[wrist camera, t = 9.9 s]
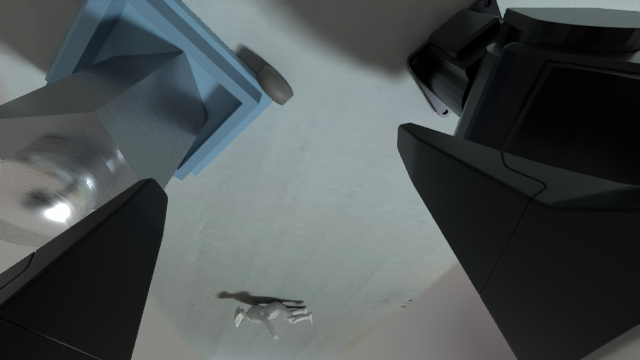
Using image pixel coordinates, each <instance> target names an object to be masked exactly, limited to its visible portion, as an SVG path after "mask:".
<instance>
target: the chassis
mask: <svg viewBox="0 0 640 360" xmlns="http://www.w3.org/2000/svg"><path fill="white" fill-rule="evenodd" d="M181 51H184V52H185V53H186V55H187V58H188V61H189V64H190V66H191V69H192V72H193V75H194V78H195V81H196V83H197V86H198V89H199V92H200V95H201V97H202V100H203V103H204V106H205V109H206V112H207V114H208V117H209V119H208V121H207V122H206V124H205V125H204V127H203V128H202V130H201V132H200V133H199V135H198V136H197V138H196V139H195V141H194V143H193V144H192V146H191V147H190V149H189V150H188V152H187V154H186V155H185V157H184V158H183V160H182V162H181V163H180V165H179V166H178V168H177V169H176V171H175V173H174V174H173V175H174V176H175V177H177V178H179V179H180V180H183V179H184V178H185V177H186V176H187V175H188V174H189V173H190V172H192V173H193V174H195V175H197V174H198V173H199V172H200V171H201V170H202V169H203V168H204V167H205V166H206V165H208V164H209V163H210V162H211V161H212V160H213V159H214V158H215V157H216V156H217V155H218V154H219V153H220V152H221V151H222V150H223V149H224V148H225V147H226V146H227V145H228V144H229V143H230V142H231V141H232V140H233V139H234V138H236V137H237V136H238V135H239V134H240V133H241V132H242V131H243V130H244V129H245V128H246V127H247V126H248V125H249V124H250V123H251V122H252V121H253V120H254V119H255V118H256V117H257V116H258V115H259V114H260V113H261V112H262V111H263V110H265V109H266V108H267V107H268V106H269V105H270V104H271V103H272V102H273V101H275V102H276V103H278V104H280V105H283V104H285V103H286V102H287V101H288V100H289V99H290V98H291V97H292V96H293V91H292V89H291V87H290V85H289V84H288V83H287V81H286V80H285V79H284V78H283V76H282V75H281V74H280V73H279V72H278V71H276V70H275V69H274V68H273V67H271V66H269V65H266V66H265V67H264V68H263V69H262V70H261V71H260V72H259V73H258V74H257V75H256V74H255V73H254V72H253V71H252V70H251V69H250V68H249V67H248V66H247V65H246V64H245V63H244V62H243V61H242V60H241V59H240V58H239V57H238V56H237V55H236V54H235V53H234V52H233V51H232V50H231V49H230V48H229V47H228V46H227V45H226V44H225V43H224V42H223V41H222V40H221V39H219V38H218V37H217V36H216V35H215V34H214V33H213V32H212V31H211V30H210V29H209V28H208V27H207V26H206V25H205V24H204V23H203V22H202V21H201V20H200V19H199V18H198V17H197V16H196V15H195V14H194V13H193V12H192V11H191V10H190V9H189V8H188V7H187V6H186V5H185V4H184V3H183V2H182V1H181V0H84V2H83V4H82V6H81V8H80V10H79V12H78V14H77V16H76V18H75V20H74V22H73V24H72V26H71V28H70V30H69V32H68V34H67V36H66V38H65V40H64V42H63V44H62V46H61V48H60V50H59V52H58V54H57V56H56V58H55V60H54V62H53V64H52V66H51V68H50V70H49V72H48V74H47V76H46V78H45V80H46V81H48V82H47V84H46V85H48V84H51V83H53V82H55V81H58V80H60V79H62V78H64V77H67V76H69V75H71V74H74V73H76V72H78V71H80V70H83V69H85V68H87V67H90V66H92V65H94V64H96V63H99V62H101V61H103V60H106V59H108V58H110V57H113V56H127V55H140V54H154V53H168V52H181Z"/></svg>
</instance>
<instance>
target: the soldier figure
mask: <svg viewBox="0 0 640 360" xmlns="http://www.w3.org/2000/svg"><path fill="white" fill-rule="evenodd" d="M306 311H307V307H303V308H300V309H291V310H288V309H287V308H286V307H285V306H284V305H283V304H282V303H279V302H276V301H275V302H272V303H270V304H268V305H266V306H260V305H256V306H252V307H250V309H249V310H248V312H245V315H246V317H247V319H248V320H249V321H250V322H251V321H252V322H254V323H258V322H261V323H263V324H264V325H265V326H266V327H267V328H268V330H269V331H271V334H272V336H273V337H274V338H275V339H278V337H279V336H277V335H276V333H275V332H274V331H273V329H274V328H273V327H272V325H271V323H270V321H269V320H270V319H272V318H275V317H277V314H279V315H280V316H281V317H282V318H283V319H285V320H286V321H288V322H290V323H295V322H297V321H300V320H304V319H308V320H309V324H310V325H312V323H313V320H312V312H309V313H308V314H307V313H306ZM300 313H303V314H300ZM295 314H297V315H295ZM243 317H244V309H240V307H239V306H238V308H237V310H236V312H235V316H234V319H235V324H236V326H238V325H239V323H240V322H242V321H243V320H242V321H241V319H242V318H243ZM244 322H245V321H244Z"/></svg>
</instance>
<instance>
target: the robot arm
mask: <svg viewBox="0 0 640 360" xmlns="http://www.w3.org/2000/svg"><path fill="white" fill-rule="evenodd" d="M485 1H486V0H477V1H476V2H475V3H474V4H472V5H471V6H470V7H469V8H467V9H466V10H460V11H459V12H458V13H457V14H456V15H454V16H453V17H452V18H451V19H450V20H448V21H447V22H446V23H445V24H443V25H442V26H441V27H440V28H439V29H437V30H436V31H435V32H434V33H433V34H431V35H430V37H429V40H428V41H427V42H426V43H425V44H424V45H422V46H421V47H420V48H419V49H417V50H416V51H415V52H414V53H413V54H411V55H410V56H409V57H408V60H407V64H408V66H409V68H410V69H411V71H412V73H413V74H414V76H415V78H416V79H417V81H418V82H419V84H420V86H421V87H422V89H423V91H424V92H425V94H426V96H427V97H428V99H429V100H430V102H431V104H432V105H433V107H434V109H435V110H436V112H437V113H438V115H439V116H440V117H447V116H448V115H450V114H451V113H453V112H454V113H455V114H456V115H458V116H459V117H460V119H459V122H458V124H457V127H456V130H455V132H454V135H453V136H452V135H448V134H445V133H442V132H439V131H436V130H432V129H429V128H426V127H423V126H420V125H417V124H413V123H405V124H401V125H399V127H398V139H397V147H398V151H399V153H400V156H401V158H402V160H403V163H404V165H405V167H406V170H407V172H408V174H409V177H410V179H411V181H412V183H413V185H414V187H415V188H416V190H417V192H418V193H419V195H420V197H421V198H422V200H423V202H424V203H425V205H426V207H427V208H428V210H429V212H430V213H431V215H432V217H433V218H434V220H435V222H436V223H437V225H438V227H439V229H440V230H441V232H442V234H443V235H444V237H445V239H446V240H447V242H448V244H449V245H450V247H451V249H452V250H453V252H454V254H455V255H456V257H457V259H458V260H459V262H460V264H461V265H462V267H463V269H464V270H465V272H466V274H467V275H468V277H469V279H470V280H471V282H472V284H473V285H474V287H475V289H476V290H477V292H478V294H479V295H480V297H481V299H482V301H483V302H484V304H485V306H486V307H487V309H488V311H489V313H490V314H491V316H492V317H493V319H494V321H495V323H496V324H497V326H498V328H499V329H500V331H501V333H502V334H503V336H504V338H505V340H506V341H507V343H508V345H509V346H510V348H511V350H512V351H513V353H514V355H515V356H516V358H517V360H640V12H638V11H626V10H614V9H601V8H507V9H506V12H505V14H504V17H503V19H502V16H501V13H500V10H499V7H498V4H497V1H496V0H488V5H487V6H486V7H484V3H485ZM415 58H417V61H416V63H414V64H412V61H413V59H415ZM445 109H446V111H445V112H444V113H442V112H443V110H445ZM167 203H168V197H167V194H166V193H165V191H164V190H163V189H162V187H161V186H160V185H159V183H158V182H157V181H156V180H155V179H154V178H147V179H142V180H139V181H138V182H136V183H135V184H133V185H132V186H130V187H129V188H128V189H126V190H125V191H123V192H122V193H120V194H119V195H117V196H116V197H114V198H113V199H111V200H110V201H108V202H107V203H105V204H104V205H102V206H101V207H99V208H98V209H96V210H95V211H93V212H92V213H90V214H89V215H88V216H86V217H85V218H83V219H82V220H80V221H79V222H77V223H76V224H74V225H73V226H71V227H70V228H68V229H67V230H65V231H64V232H62V233H61V234H59V235H58V236H56V237H55V238H53V239H52V240H50V241H49V242H48V243H46V244H45V245H43V246H42V247H40V248H39V249H37V250H36V252H33V253H31V254H30V255H28V256H27V257H25V258H24V259H22V260H21V261H19V262H18V263H16V264H15V265H13V266H12V267H10V268H9V269H8V270H6V271H4V272H3V273H1V274H0V360H131V357H132V353H133V349H134V346H135V342H136V338H137V334H138V330H139V326H140V323H141V318H142V315H143V311H144V307H145V303H146V299H147V296H148V292H149V288H150V284H151V280H152V276H153V273H154V269H155V265H156V261H157V257H158V253H159V249H160V246H161V242H162V237H163V232H164V225H165V218H166V211H167Z"/></svg>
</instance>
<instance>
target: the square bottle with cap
mask: <svg viewBox="0 0 640 360" xmlns="http://www.w3.org/2000/svg"><path fill="white" fill-rule="evenodd" d="M208 119H209V117H208V114H207V112H206V109H205V106H204V103H203V100H202V97H201V95H200V92H199V89H198V86H197V83H196V81H195V78H194V75H193V72H192V69H191V66H190V64H189V61H188V58H187V55H186V53H185V52H184V51H181V52H168V53H154V54H140V55H127V56H113V57H110V58H108V59H106V60H103V61H101V62H99V63H96V64H94V65H92V66H90V67H87V68H85V69H83V70H80V71H78V72H76V73H74V74H71V75H69V76H67V77H64V78H62V79H60V80H58V81H55V82H53V83H51V84H48V85H46V86H44V87H42V88H39V89H37V90H35V91H32V92H30V93H28V94H26V95H23V96H21V97H19V98H16V99H14V100H12V101H10V102H7V103H5V104H3V105H1V106H0V159H1V160H2V161H1V162H0V239H1V240H4V241H7V242H11V243H15V244H20V245H25V246H34V247H42V246H43V245H45V244H46V243H48V242H49V241H50V240H52V239H53V238H55V237H56V236H58V235H59V234H61V233H62V232H64V231H65V230H67V229H68V228H70V227H71V226H73V225H74V224H76V223H77V222H79V221H80V220H82V219H83V218H85V217H86V216H87V214H88V213H89V212H90V211H91V210H92V209H98V208H99V207H101V206H102V205H104V204H105V203H107V202H108V201H110V200H111V199H113V198H114V197H116V196H117V195H119V194H120V193H122V192H123V191H125V190H126V189H128V188H129V187H130V186H132V185H133V184H135V183H136V182H138V181H139V180H142V179H147V178H154V179H155V180H156V181H157V182H158V183H159V185H160V186H161V187H162V189H163V190H164V188H165V187H166V185H167V184H168V182H169V180H170V179H171V177H172V176H173V174H174V173H175V171H176V169H177V168H178V166H179V165H180V163H181V162H182V160H183V158H184V157H185V155H186V154H187V152H188V150H189V149H190V147H191V146H192V144H193V143H194V141H195V139H196V138H197V136H198V135H199V133H200V132H201V130H202V128H203V127H204V125H205V124H206V122H207V121H208Z"/></svg>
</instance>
